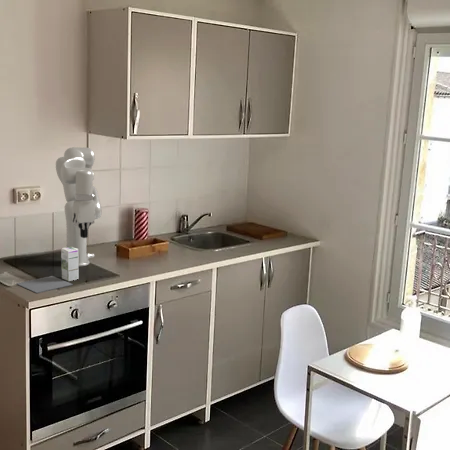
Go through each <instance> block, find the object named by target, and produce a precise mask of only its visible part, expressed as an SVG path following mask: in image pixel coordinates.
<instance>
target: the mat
mask: <svg viewBox="0 0 450 450" xmlns="http://www.w3.org/2000/svg"><path fill="white" fill-rule="evenodd" d="M16 285H17V286H19V287H22V288H24V289H26V290H29V291H31V292H33V293H34V294H40V293H45V292H48V291H54V290H59V289H62V288H67V287H72V286H73V285H74V283H71V282H70V281H66V280H64V279H62V278H58V277H56V276H54V275H50V276H45V277H40V278H35V279H30V280H26V281H21V282H17V283H16Z"/></svg>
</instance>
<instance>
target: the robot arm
mask: <svg viewBox="0 0 450 450" xmlns="http://www.w3.org/2000/svg"><path fill="white" fill-rule="evenodd" d="M95 159H96V158H95V152H94V151H93V149H92V148H91V147H80V146H79V147H78V146H77V147H75V146H74V147H69V148H67V149H65V151H64V153H63V156H61V157H58V158H57V159H56V161H55V170H56V174H57V177H58V179H59V181H60V183H61V184H62V187H63V192H64V197H65V201H66V203H65V205H64V216H65V222H66V224H65V226H66V247H74V248H77V249H78V268H79V267H85V266H88V265H90V260H89V259H91V258H95V253H87V239H88V238H89V237H88V236H89V235H88V234H89V229H90V226H91V225H93V224H95V220H98V219H100V218H101V216H102V210H103V209H102V204H101V199H100V195H99V192H98V189H97V188H96V186H94V183H93V182H94V180H95V175H94V174H95V173H94V170H92V167H93V166H94V164H95Z"/></svg>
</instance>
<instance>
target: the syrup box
mask: <svg viewBox="0 0 450 450" xmlns="http://www.w3.org/2000/svg"><path fill="white" fill-rule="evenodd" d="M60 251H61V254H60V258H61V259H60V260H61V261H60V262H61V269H60V271H61V272H60V273H61V280H64V281H66V282H73V280H74V281H77V279H78V280H79V276H80V275H79V273H80V272H79V267H78V249H77V248H74V247H67V246H65V247H62V248H61V249H60Z"/></svg>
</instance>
